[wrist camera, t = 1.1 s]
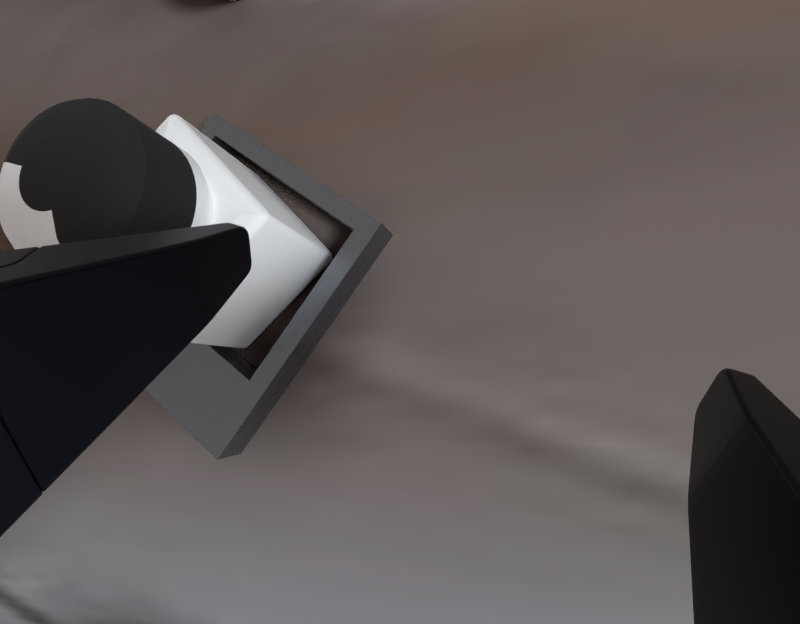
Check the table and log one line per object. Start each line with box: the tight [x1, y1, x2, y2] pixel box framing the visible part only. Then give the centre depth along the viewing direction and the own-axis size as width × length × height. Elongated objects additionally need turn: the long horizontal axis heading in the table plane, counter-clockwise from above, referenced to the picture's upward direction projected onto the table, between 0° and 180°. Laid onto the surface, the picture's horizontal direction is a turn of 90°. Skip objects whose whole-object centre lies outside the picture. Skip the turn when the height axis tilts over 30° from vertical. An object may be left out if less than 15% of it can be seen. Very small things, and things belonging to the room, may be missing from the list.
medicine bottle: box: [0, 98, 332, 348], centre depth 21 cm, size 7×7×12 cm
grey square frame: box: [144, 112, 392, 459], centre depth 26 cm, size 14×12×2 cm
